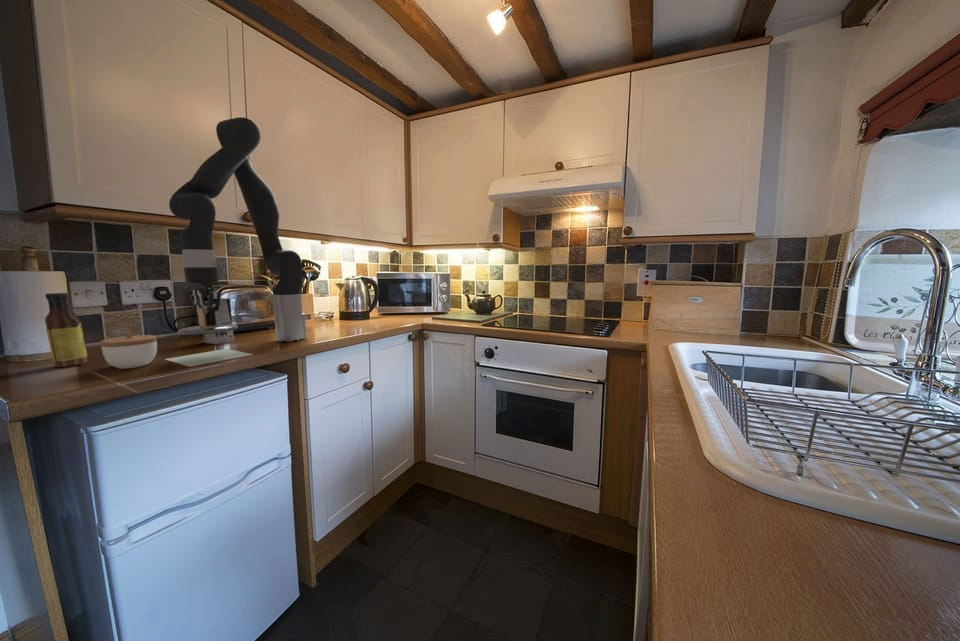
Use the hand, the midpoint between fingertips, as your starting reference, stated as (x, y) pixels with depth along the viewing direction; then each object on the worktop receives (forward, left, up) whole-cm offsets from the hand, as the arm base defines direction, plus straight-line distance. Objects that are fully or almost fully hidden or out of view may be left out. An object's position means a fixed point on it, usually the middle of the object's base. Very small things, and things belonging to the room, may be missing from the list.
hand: (208, 325), depth 103 cm
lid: (0, 0, -2) cm, 2 cm away
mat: (0, 0, -10) cm, 10 cm away
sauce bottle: (+23, -24, -10) cm, 35 cm away
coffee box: (-13, -25, -10) cm, 30 cm away
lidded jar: (+15, -7, -10) cm, 20 cm away
